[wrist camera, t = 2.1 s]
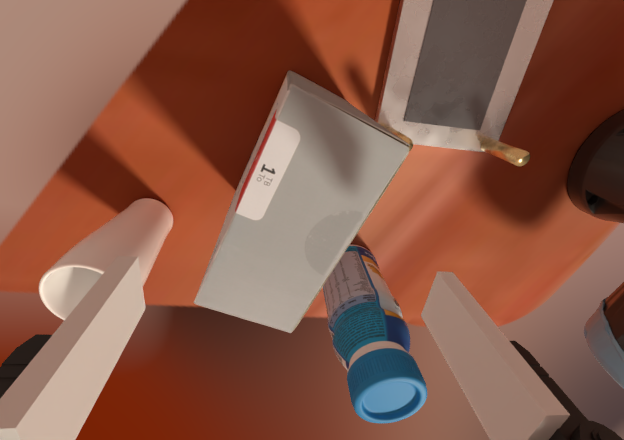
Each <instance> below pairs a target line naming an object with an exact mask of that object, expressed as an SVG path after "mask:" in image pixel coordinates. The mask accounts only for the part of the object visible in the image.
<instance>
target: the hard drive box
mask: <svg viewBox="0 0 624 440" xmlns="http://www.w3.org/2000/svg"><path fill="white" fill-rule="evenodd" d="M409 146H410V145H409V144H408V143H407V142H405V141H404V140H402V139H401V138H399V137H398V136H396V135H395V134H393V133H392V132H390V131H389V130H387V129H386V128H384V127H383V126H381V125H380V124H379V123H377V122H376V121H374V120H373V119H372V118H370V117H369V116H367V115H366V114H364V113H363V112H361V111H360V110H358V109H357V108H355V107H354V106H352V105H351V104H350V103H349V102H347V101H346V100H344V99H343V98H341V97H339V96H337V95H336V94H334V93H332V92H330V91H328V90H326V89H325V88H323V87H321V86H319V85H317V84H315V83H314V82H312V81H310V80H308V79H306V78H304V77H302V76H301V75H299V74H297V73H295V72H293V71H290V70H289V71H288V72H287V74H286V76H285V79H284V81H283V83H282V85H281V88H280V90H279V92H278V95H277V97H276V99H275V102H274V104H273V106H272V108H271V111H270V113H269V115H268V118H267V120H266V122H265V125H264V127H263V129H262V131H261V134H260V136H259V138H258V141H257V143H256V145H255V147H254V150H253V152H252V154H251V157H250V159H249V161H248V163H247V166H246V168H245V170H244V173H243V175H242V177H241V180H240V182H239V185H238V187H237V189H236V192H235V194H234V197H233V199H232V202H231V205H230V207H229V210H228V213H227V216H226V218H225V221H224V224H223V227H222V229H221V232H220V235H219V238H218V240H217V243H216V246H215V248H214V251H213V254H212V256H211V259H210V262H209V264H208V267H207V270H206V273H205V275H204V278H203V280H202V283H201V286H200V288H199V291H198V293H197V296H196V298H195V301H194V303H195V304H197V305H200V306H203V307H207V308H210V309H213V310H216V311H220V312H223V313H226V314H229V315H233V316H236V317H239V318H242V319H246V320H249V321H253V322H256V323H259V324H263V325H266V326H269V327H273V328H277V329H280V330H283V331H286V332H289V333H291V332H292V331H293V330H294V329H295V328H296V326H297V325H298V324H299V322H300V321H301V319H302V318H303V316H304V315H305V313H306V311H307V310H308V308H309V307H310V305H311V304H312V302H313V301H314V299H315V298H316V296H317V295H318V293H319V292H320V290H321V288H322V287H323V285H324V284H325V282H326V280H327V279H328V277H329V276H330V274H331V273H332V271H333V270H334V268H335V267H336V265H337V264H338V262H339V260H340V259H341V257H342V256H343V254H344V253H345V251H346V250H347V248H348V247H349V245H350V244H351V242H352V241H353V239H354V238H355V236H356V234H357V233H358V231H359V230H360V228H361V227H362V225H363V224H364V222H365V221H366V219H367V218H368V216H369V215H370V213H371V212H372V210H373V209H374V207H375V206H376V204H377V202H378V201H379V199H380V198H381V196H382V195H383V193H384V192H385V190H386V189H387V187H388V186H389V184H390V182H391V181H392V179H393V178H394V176H395V174H396V173H397V171H398V170H399V168H400V166H401V165H402V163H403V161H404V160H405V158H406V157H407V155H408V153H409Z"/></svg>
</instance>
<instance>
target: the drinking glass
mask: <svg viewBox="0 0 624 440" xmlns="http://www.w3.org/2000/svg"><path fill="white" fill-rule="evenodd" d="M172 226H173V216H172V213H171V211H170V210H169V208H168V207H167V206H166V205H165V204H163V203H162V202H160V201H158V200H155V199H151V198H143V199H139V200H136V201H134V202H133V203H132V204H130V205H129V206H128V207H127V208H126V209H125V210H123V211H122V212H121V213H119V214H118V215H116V216H115V217H114V218H112V219H111V220H109V221H108V222H107V223H105V224H104V225H102V226H101V227H99V228H98V229H97V230H95V231H94V232H92V233H91V234H89V235H88V236H87V237H85V238H84V239H82V240H81V241H80V242H78V243H77V244H76V245H75V246H73V247H72V248H71V249H70V250H69V251H67V252H66V253H65V254H64V255H63V256H62V257H61V258H60V259H59V260H58V261H57V262H56V263H55V264H54V265H53V266H52V267H51V268H50V269H49V270H48V271H47V272H46V273H45V274H44V275H43V276H42V278H41V280H40V283H39V294H40V297H41V299H42V301H43V303H44V304H45V306H46V307H47V308H48V309H49V310H50V311H51V312H52V313H53V314H55V315H56V316H58V317H59V318H61V319H63V320H65V319H66V318H67V317H68V316H69V314H70V313H71V312H72V311H73V310H74V308H75V307H76V306H77V305H78V304H79V302H80V301H81V300H82V299H83V297H84V296H85V295H86V294H87V293H88V291H89V290H90V289H91V288H92V287H93V285H94V284H95V283H96V282H97V280H98V279H99V278H100V277H101V276H102V274H103V273H104V272H105V271H106V270H107V268H108V267H109V266H110V265H111V263H112V262H113V261H114V260H115V259H116V257H117V256H132V257H138V260H139V267H140V274H141V280H142V287H143V285H144V284H145V282H146V280H147V278H148V276H149V274H150V271H151V269H152V267H153V265H154V263H155V260H156V258H157V256H158V254H159V252H160V249H161V247H162V245H163V243H164V241H165V239H166V237H167V235H168V233H169V232H170V230H171V228H172Z"/></svg>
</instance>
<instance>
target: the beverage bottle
mask: <svg viewBox="0 0 624 440" xmlns="http://www.w3.org/2000/svg"><path fill="white" fill-rule="evenodd" d="M323 290H324V296H325V302H326V308H327V314H328V327H329V331H330V334H331V336H332V338H333V348H334V351H335V354H336V355H337V357H338V359H339V361H340V362H341V363H342V365H343V366H344V367H345V368H346V369H347V370H348V373H347V374H348V375H347V381H348V386H349V392H350V397H351V402H352V405H353V407H354V410H355V412H356V413H357V414H358V415H359V416H360V417H361V418H362V419H364V420H366V421H369V422H373V423H391V422H396V421H400V420H402V419H405V418H407V417H409V416H411V415H413V414H414V413H416V412H417V411H418V410H419V409H420V408H421V407H422V406H423V404H424V403H425V400H426V398H427V388H426V383H425V381H424V379H423V377H422V375H421V372H420V370H419V368H418V366H417V364H416V362H415V360H414V358H413V357H412V356H411V355H410V353H409V349H410V334H409V329H408V326H407V324H406V322H405V321H404V319H403V318H402V312H401V309H400V307H399V305H398V303H397V301H396V300H395V298H394V297H393V296H392V295H391V293H390V291H389V288H388V286H387V284H386V282H385V280H384V278H383V276H382V274H381V272H380V270H379V267H378V264H377V262H376V259H375V257H374V256H373V254H372V253H371V252H370V251H369V250H367V249H366V248H364V247H362V246H358V245H349V247H348V248H347V250H346V251H345V253H344V254H343V256H342V257H341V259H340V260H339V262H338V264H337V265H336V267H335V268H334V270H333V271H332V273H331V274H330V276H329V277H328V279H327V280H326V282H325V284H324V285H323Z"/></svg>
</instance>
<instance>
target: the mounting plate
mask: <svg viewBox="0 0 624 440" xmlns="http://www.w3.org/2000/svg"><path fill="white" fill-rule="evenodd" d="M553 1H554V0H400V3H399V8H398V13H397V18H396V22H395V27H394V32H393V37H392V41H391V46H390V51H389V56H388V60H387V65H386V70H385V75H384V79H383V84H382V89H381V94H380V99H379V103H378V108H377V113H376V118H375V121H376V122H377V123H379V124H380V125H381V126H383V127H384V128H386V129H387V130H389V131H390V132H392V133H393V134H395V135H396V136H398V137H399V138H401V139H402V140H404V141H405V142H407V143H408V144H409V145H410V146H409V151H410V150H411V149H412V147H413V144H417V145H426V146H435V147H444V148H452V149H461V150H470V151H479V152H487V153H489V154H491V155H494V156H496V157H498V158H501V159H503V160H505V161H507V162H510V163H512V164H514V165H516V166H523V165H525V164H526V163H527V162H528V161H529V159H530V153H529V152H528V151H525V150H522V149H519V148H517V147H514V146H511V145H508V144H506V143H503V142H500V141H499V138H500V136H501V133H502V130H503V128H504V125H505V123H506V120H507V118H508V115H509V113H510V110H511V108H512V105H513V102H514V100H515V97H516V95H517V92H518V90H519V87H520V85H521V82H522V80H523V77H524V74H525V72H526V69H527V67H528V64H529V62H530V59H531V57H532V54H533V52H534V49H535V46H536V44H537V41H538V39H539V36H540V34H541V31H542V29H543V26H544V23H545V21H546V18H547V16H548V13H549V11H550V8H551V6H552V3H553Z"/></svg>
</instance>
